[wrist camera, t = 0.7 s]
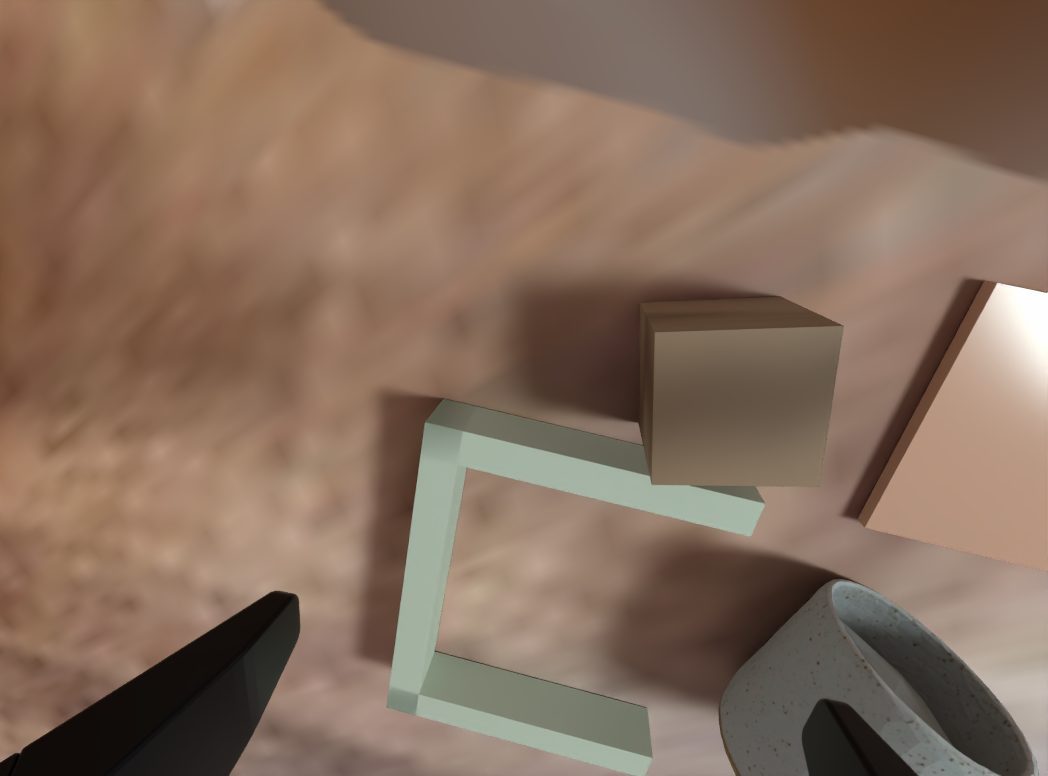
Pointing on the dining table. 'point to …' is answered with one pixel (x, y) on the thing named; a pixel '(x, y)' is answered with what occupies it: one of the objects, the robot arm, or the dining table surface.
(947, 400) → the terracotta tile
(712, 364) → the walnut block
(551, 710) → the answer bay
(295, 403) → the dining table surface
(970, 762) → the ceramic mug
